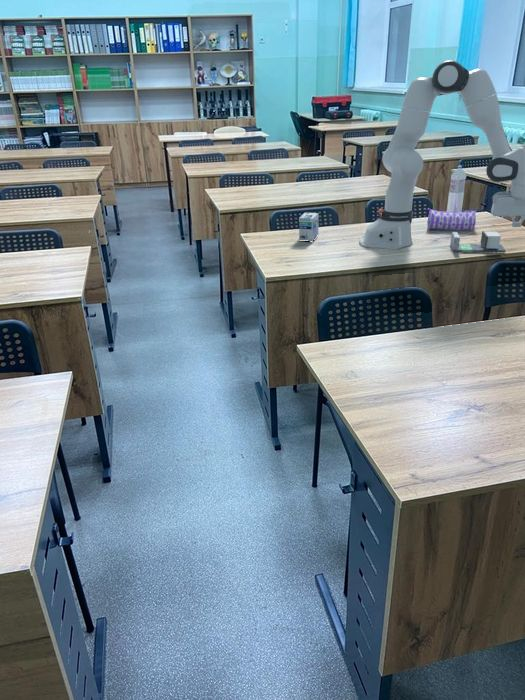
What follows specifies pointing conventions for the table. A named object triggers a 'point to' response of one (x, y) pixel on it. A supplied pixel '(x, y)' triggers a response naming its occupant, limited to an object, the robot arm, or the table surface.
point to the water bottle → (456, 190)
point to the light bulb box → (308, 226)
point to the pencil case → (451, 220)
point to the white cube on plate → (490, 239)
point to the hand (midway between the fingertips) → (516, 226)
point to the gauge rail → (470, 246)
